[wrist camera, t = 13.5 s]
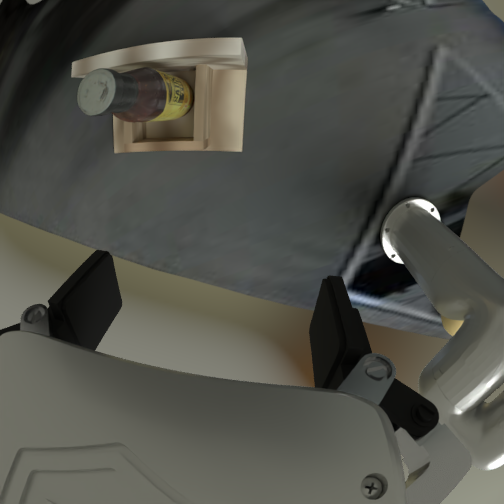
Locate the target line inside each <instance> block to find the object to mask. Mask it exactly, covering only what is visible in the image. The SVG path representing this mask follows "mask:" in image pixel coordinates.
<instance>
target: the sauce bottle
mask: <svg viewBox="0 0 504 504" xmlns="http://www.w3.org/2000/svg"><path fill="white" fill-rule="evenodd" d="M77 101H78V105H79V107H80V109H81V110H82V111H83V112H84V113H85V114H87V115H90V116H102V115H106V114H109V113H112V114H113V115H114V116H115V117H117V118H119V119H120V120H122V121H125V122H133V123H135V122H153V121H167V120H175V119H178V118H180V117H183V116H185V115H186V114H187V113H188V112H189V111H190V110H191V108H192V107H193V104H194V101H195V98H194V92H193V89H192V88H191V86H190V85H189V84H188V83H187V82H186V81H185V80H183V79H181V78H178V77H175V76H173V75H170V74H167V73H164V72H161V71H159V70H156V69H153V68H149V67H143V68H138V69H134V70H131V71H127V72H123V73H118V72H117V71H115V70H112V69H105V68H99V69H96V70H93V71H91V72H90V73H88V75H86V76H85V77H84V79H83V80H82V82H81V83H80V86H79V88H78V93H77Z"/></svg>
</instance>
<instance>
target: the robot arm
mask: <svg viewBox="0 0 504 504" xmlns="http://www.w3.org/2000/svg"><path fill="white" fill-rule="evenodd" d="M380 240H381V245H382V248H383V250H384V252H385V253H386V255H387V256H388V257H389V258H390V259H391V260H393V261H395V262H397V263H400V264H404V265H405V266H406V267H407V269H408V270H409V271H410V273H411V274H412V276H413V277H414V278H415V280H416V281H417V283H418V284H419V285H420V287H421V288H422V290H423V291H424V293H425V294H426V296H427V297H428V299H429V300H430V302H431V303H432V305H433V306H434V308H435V309H436V310H437V312H439V313H440V314H441V315H442V316H444V317H446V318H448V319H452V320H459V321H464V322H463V324H462V325H461V327H460V328H459V329H458V331H457V332H456V333H455V335H454V336H453V337H452V338H451V339H450V340H449V342H448V343H447V344H446V345H445V346H444V347H443V348H442V349H441V350H440V351H439V352H438V354H436V356H435V357H434V358H433V359H432V360H431V361H430V362H429V363H428V364H427V365H426V367H425V368H424V369H423V371H422V372H421V374H420V377H419V381H418V389H419V394H418V393H417V392H415V391H414V390H412V389H411V388H409V387H408V386H406V385H404V384H403V383H401V382H400V381H398V380H397V379H395V375H396V368H395V366H394V364H393V362H392V361H391V360H390V359H389V358H387V357H386V356H383V355H381V354H377V353H372V351H371V348H370V344H369V341H368V338H367V335H366V332H365V329H364V326H363V322H362V319H361V317H360V314H359V311H358V309H356V308H352V305H351V302H350V299H349V296H348V293H347V290H346V287H345V284H344V281H343V279H342V277H339V276H328V277H327V279H323V280H322V284H321V288H320V292H319V295H318V299H317V303H316V306H315V310H314V313H313V318H312V320H311V324H310V330H309V334H310V343H311V351H312V361H313V371H314V382H315V387H304V386H303V387H302V386H290V385H277V384H266V383H255V382H247V381H238V380H230V379H223V378H216V377H209V376H203V375H197V374H191V373H185V372H179V371H175V370H170V369H165V368H160V367H155V366H151V365H147V364H142V363H138V362H134V361H130V360H126V359H122V358H118V357H115V356H111V355H107V354H104V353H101V352H97V351H95V350H96V348H97V346H98V345H99V343H100V341H101V339H102V338H103V336H104V334H105V333H106V331H107V330H108V328H109V326H110V325H111V323H112V321H113V320H114V318H115V317H116V315H117V314H118V312H119V310H120V309H121V307H122V299H121V295H120V291H119V286H118V282H117V278H116V272H115V268H114V262H113V258H112V255H110V254H109V252H108V251H102V250H96V251H95V252H94V253H93V254H92V255H91V256H90V257H89V258H88V259H87V260H86V261H85V262H84V263H83V264H82V265H81V266H80V267H79V268H78V269H77V270H76V271H75V272H74V273H73V274H72V275H71V276H70V277H69V278H68V279H67V281H66V282H65V283H64V284H63V285H62V286H61V287H60V288H59V289H58V290H57V291H56V292H55V294H54V295H53V296H52V297H51V298H50V299H49V300H48V303H49V308H48V309H47V307H46V306H45V305H43V304H35V305H32V306H30V307H29V308H27V309H26V310H25V311H24V312H23V314H22V316H21V323H18V324H16V325H13V326H10V327H7V328H4V329H2V330H0V504H440V503H441V502H442V501H443V500H444V499H445V498H446V497H447V496H448V494H449V493H450V492H451V491H452V490H453V489H454V488H455V487H456V485H457V484H458V483H459V482H460V481H461V479H462V478H463V477H464V476H465V475H466V473H467V472H468V471H469V469H470V467H471V465H473V466H475V467H477V468H479V469H481V470H492V469H495V468H498V467H500V466H502V465H503V464H504V391H503V392H502V393H501V394H499V395H498V396H497V397H496V398H495V399H494V400H493V401H492V402H490V403H486V402H484V400H485V399H486V398H488V397H489V396H490V395H491V394H492V393H493V392H494V391H495V390H496V389H498V388H499V387H500V386H501V385H502V384H503V383H504V278H502V277H501V276H500V275H499V274H498V273H496V272H495V271H494V270H493V269H492V268H491V267H490V266H489V265H488V264H487V263H486V262H484V260H483V259H481V258H480V256H478V255H477V254H476V253H475V252H474V251H473V250H472V249H471V248H470V247H469V246H468V245H467V244H466V243H465V242H463V241H462V240H461V239H460V238H459V237H458V236H457V235H456V234H454V232H452V231H451V230H450V229H449V228H448V227H446V226H445V225H444V224H443V223H442V222H441V221H440V216H439V213H438V211H437V209H436V207H435V206H434V205H433V204H432V203H430V202H429V201H428V200H426V199H423V198H419V197H411V198H407V199H405V200H403V201H401V202H399V203H398V204H396V205H395V206H394V207H393V208H392V209H391V210H390V211H389V213H388V214H387V216H386V217H385V220H384V222H383V224H382V228H381V233H380ZM400 453H401V454H400ZM401 455H402V456H403V457H404V459H402V460H403V461H404V463H405V464H406V465H407V467H408V469H409V476H408V479H407V481H406V482H405V478H404V472H403V466H402V460H401Z"/></svg>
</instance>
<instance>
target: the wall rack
mask: <svg viewBox="0 0 504 504" xmlns="http://www.w3.org/2000/svg"><path fill="white" fill-rule="evenodd" d="M247 62H248V57H247V54H246V50H245V47H244V43H243V40H242V38H202V39H187V40H176V41H167V42H159V43H153V44H146V45H140V46H135V47H129V48H125V49H120V50H115V51H111V52H107V53H103V54H99V55H95V56H92V57H88V58H85V59H81V60H78V61H75V62H72V76H71V77H79V78H84V77H85V76H86V75H88V73H90V72H91V71H93V70H96V69H99V68H105V69H112V70H115V71H117V72H118V73H123V72H127V71H131V70H134V69H138V68H143V67H149V68H153V69H156V70H159V71H161V72H164V73H167V74H170V75H173V76H175V77H178V78H181V79H183V80H185V81H186V82H187V83H188V84H189V85H190V86H191V88H192V89H193V92H194V98H195V101H194V104H193V107H192V108H191V110H190V111H189V112H188V113H187V114H186V115H185V116H183V117H180V118H178V119H175V120H167V121H153V122H135V123H133V122H125V121H122V120H120V119H119V118H117V117H115V116H114V115H113V130H114V153H124V152H141V151H174V150H203V151H237V152H242V146H243V128H244V110H245V93H246V77H247Z"/></svg>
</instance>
